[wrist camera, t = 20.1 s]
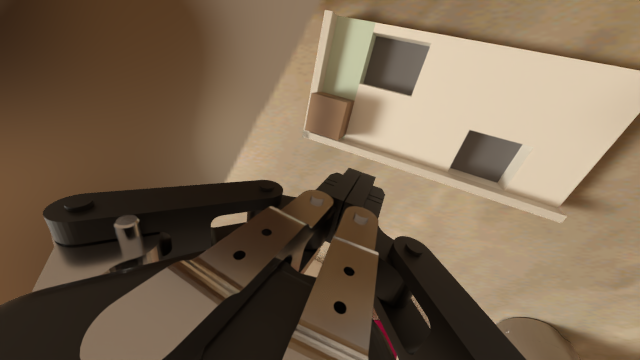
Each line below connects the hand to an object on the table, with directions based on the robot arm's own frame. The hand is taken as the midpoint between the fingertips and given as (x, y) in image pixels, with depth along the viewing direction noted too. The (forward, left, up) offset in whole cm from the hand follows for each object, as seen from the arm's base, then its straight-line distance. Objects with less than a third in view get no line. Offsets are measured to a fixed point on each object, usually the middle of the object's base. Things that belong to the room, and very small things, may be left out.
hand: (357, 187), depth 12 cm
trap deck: (-5, -3, -25) cm, 25 cm away
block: (+9, +1, -22) cm, 23 cm away
